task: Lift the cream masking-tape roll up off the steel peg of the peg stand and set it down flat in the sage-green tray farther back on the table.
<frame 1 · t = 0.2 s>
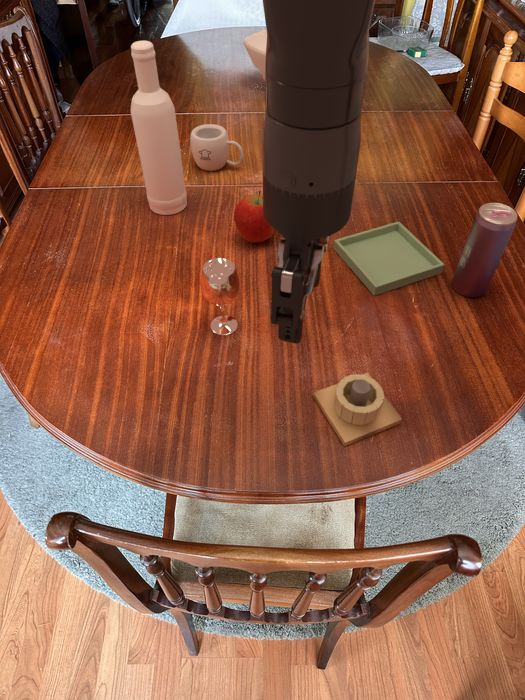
hand: (299, 310, 53), 22 cm above the table, tool pointing down, fingers open, 8 cm apart
wineglass: (224, 326, 82), on the table
beverage can: (468, 288, 88), on the table
mug: (219, 167, 115), on the table
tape: (356, 405, 71), point 1 cm above the table, touching peg stand
apple: (256, 239, 98), on the table
tray: (386, 260, 93), on the table
bowl: (289, 86, 144), on the table
peg stand: (355, 409, 71), on the table
bottle: (168, 205, 105), on the table
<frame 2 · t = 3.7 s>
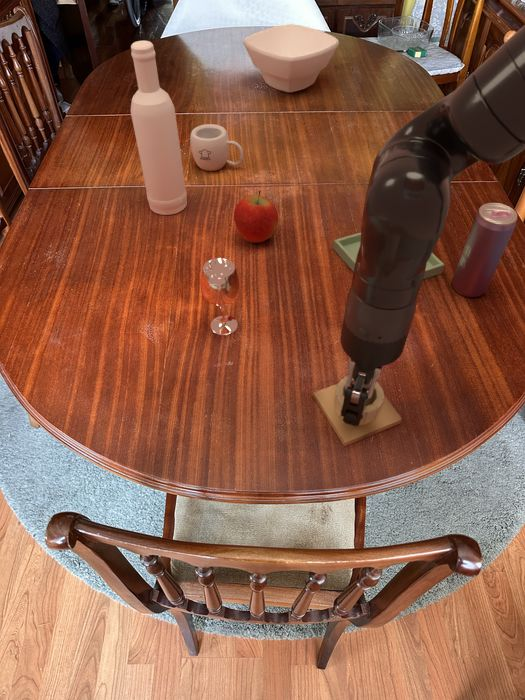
hand: (357, 401, 70), 2 cm above the table, tool pointing down, fingers closed on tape, 6 cm apart
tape: (356, 405, 71), point 1 cm above the table, touching gripper, peg stand
everything else where it was.
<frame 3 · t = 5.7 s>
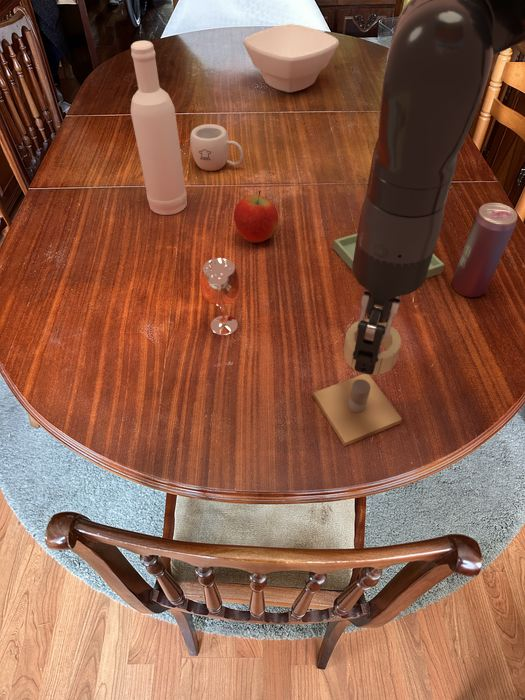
hand: (370, 348, 62), 13 cm above the table, tool pointing down, fingers closed on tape, 6 cm apart
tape: (369, 354, 62), point 12 cm above the table, touching gripper
everything else where it was.
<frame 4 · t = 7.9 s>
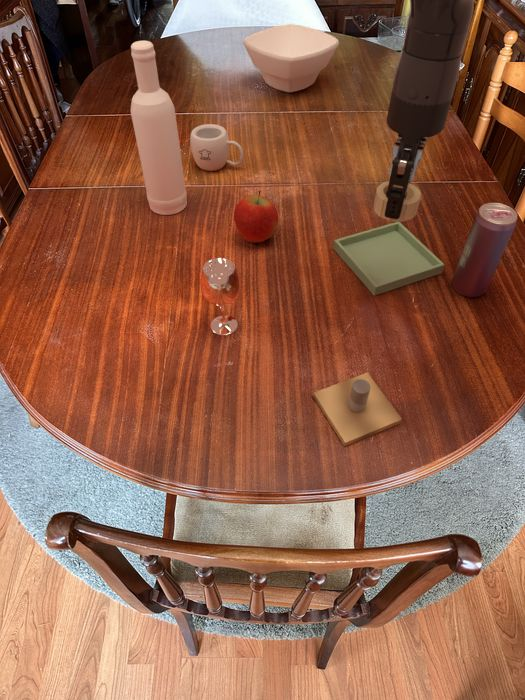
hand: (396, 203, 76), 16 cm above the table, tool pointing down, fingers closed on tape, 6 cm apart
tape: (394, 209, 77), point 15 cm above the table, touching gripper
everything else where it was.
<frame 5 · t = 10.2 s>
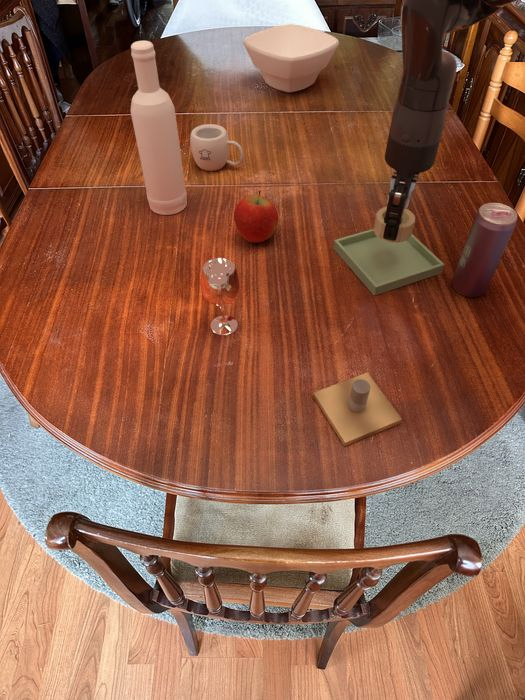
hand: (393, 226, 87), 7 cm above the table, tool pointing down, fingers closed on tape, 6 cm apart
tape: (392, 231, 88), point 6 cm above the table, touching gripper
everything else where it was.
when the fingers open (1 cm above the table, at t = 12.2 s): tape stays where it is, resting on tray.
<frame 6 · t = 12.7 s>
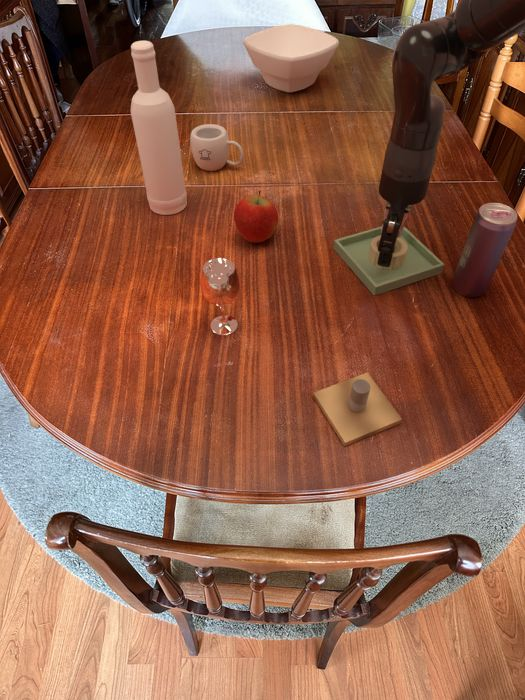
hand: (388, 250, 91), 2 cm above the table, tool pointing down, fingers open, 8 cm apart
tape: (386, 258, 92), resting on tray
everything else where it was.
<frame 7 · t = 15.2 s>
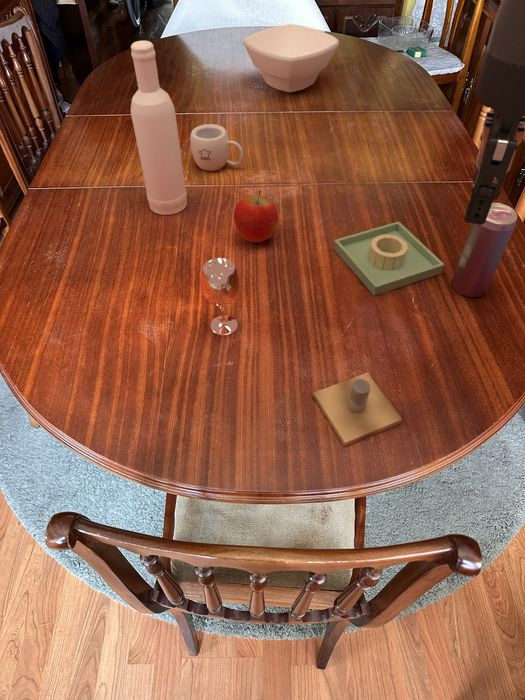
hand: (478, 202, 59), 26 cm above the table, tool pointing down, fingers open, 8 cm apart
nothing on the table moved.
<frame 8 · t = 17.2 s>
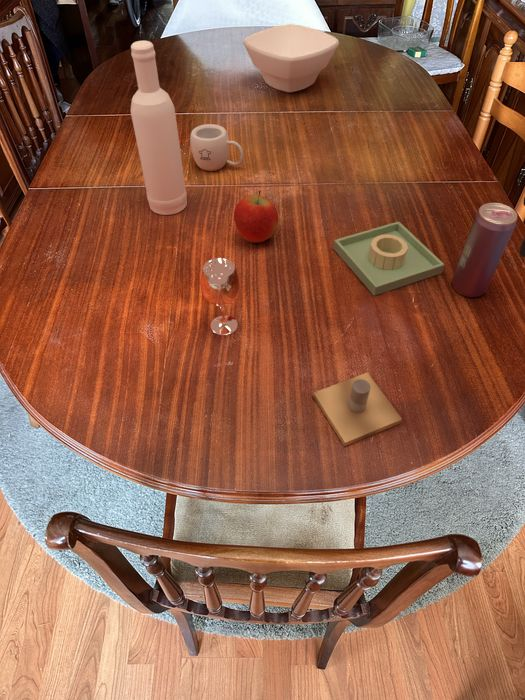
nothing on the table moved.
at the end: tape inside the target area in the tray (0.1 cm from its centre), point 0.5 cm above the tray's base; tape tilted 0°; the gripper is holding nothing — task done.
